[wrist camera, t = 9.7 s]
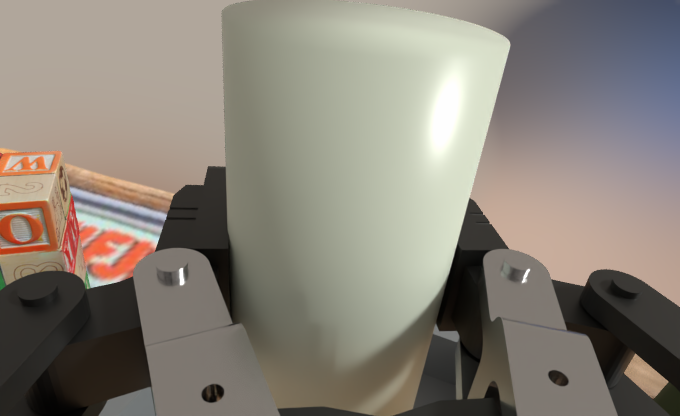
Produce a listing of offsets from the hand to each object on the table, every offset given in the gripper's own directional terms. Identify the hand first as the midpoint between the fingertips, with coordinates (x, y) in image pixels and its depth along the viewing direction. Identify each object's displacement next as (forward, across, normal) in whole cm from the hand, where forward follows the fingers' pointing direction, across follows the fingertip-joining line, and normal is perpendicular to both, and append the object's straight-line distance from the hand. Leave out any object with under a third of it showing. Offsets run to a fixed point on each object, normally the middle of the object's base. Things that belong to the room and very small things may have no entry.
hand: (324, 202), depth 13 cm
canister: (-3, 0, +7) cm, 7 cm away
